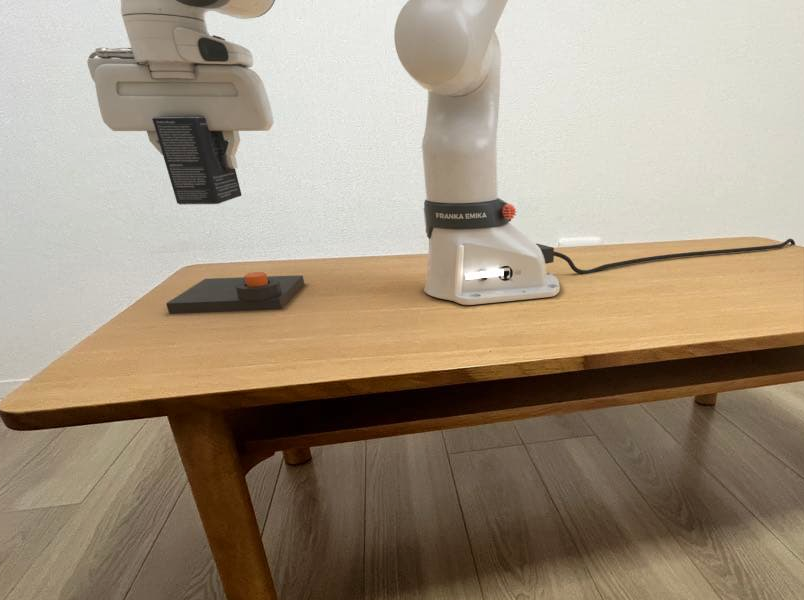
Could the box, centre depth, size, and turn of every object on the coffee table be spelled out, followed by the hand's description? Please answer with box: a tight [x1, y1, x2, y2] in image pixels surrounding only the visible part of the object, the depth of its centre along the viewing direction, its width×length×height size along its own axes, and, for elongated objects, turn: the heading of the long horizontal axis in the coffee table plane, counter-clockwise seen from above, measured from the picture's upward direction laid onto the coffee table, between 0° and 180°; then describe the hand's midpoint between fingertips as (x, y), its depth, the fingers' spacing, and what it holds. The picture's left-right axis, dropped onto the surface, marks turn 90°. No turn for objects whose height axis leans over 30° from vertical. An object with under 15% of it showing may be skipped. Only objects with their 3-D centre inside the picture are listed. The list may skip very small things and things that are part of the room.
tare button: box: [243, 271, 268, 287], centre depth 81 cm, size 3×3×2 cm
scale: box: [165, 274, 305, 315], centre depth 85 cm, size 16×14×4 cm
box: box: [152, 116, 242, 206], centre depth 73 cm, size 8×6×11 cm
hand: (203, 168), depth 74 cm, fingers closed on box, 6 cm apart
